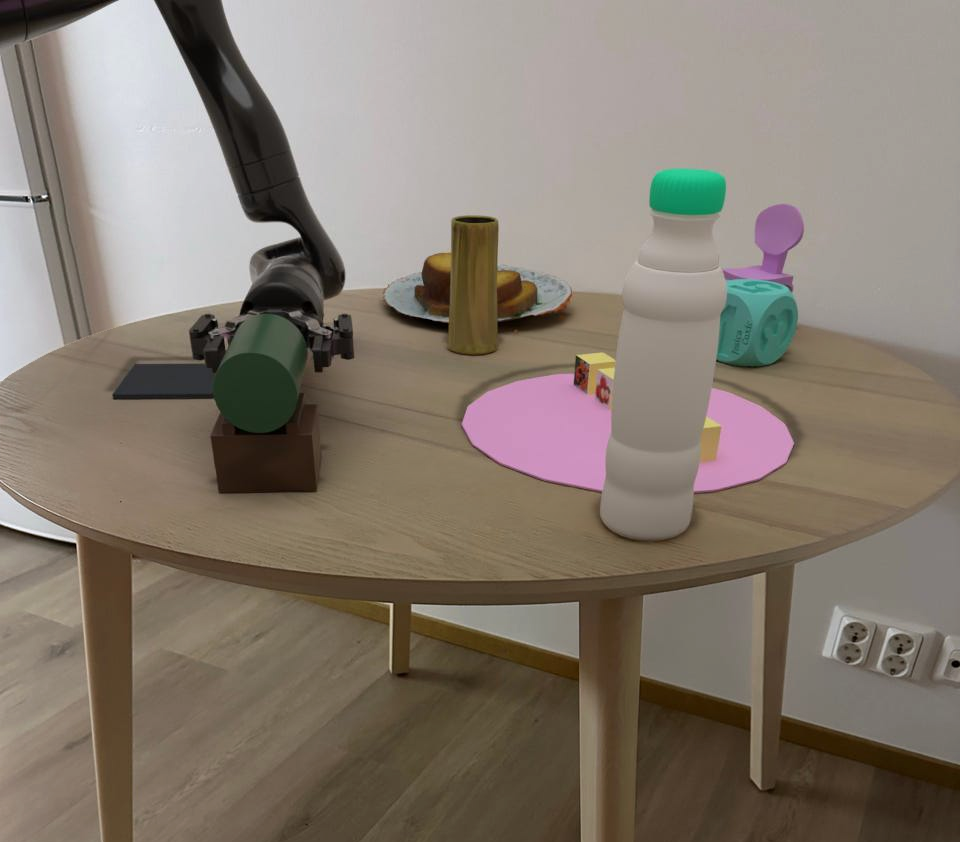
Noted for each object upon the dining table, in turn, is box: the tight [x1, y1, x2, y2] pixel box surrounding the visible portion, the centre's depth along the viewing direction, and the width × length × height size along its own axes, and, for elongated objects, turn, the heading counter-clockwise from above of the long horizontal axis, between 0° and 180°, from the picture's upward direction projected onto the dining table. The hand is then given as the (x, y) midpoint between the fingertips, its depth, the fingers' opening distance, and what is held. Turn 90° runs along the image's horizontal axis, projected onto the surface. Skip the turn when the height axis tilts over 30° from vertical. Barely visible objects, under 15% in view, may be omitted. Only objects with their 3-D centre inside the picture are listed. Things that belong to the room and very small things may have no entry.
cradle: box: [209, 392, 323, 494], centre depth 77 cm, size 8×7×6 cm
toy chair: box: [722, 203, 805, 294], centre depth 114 cm, size 8×9×15 cm
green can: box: [213, 314, 308, 433], centre depth 76 cm, size 6×11×6 cm, turn 5°
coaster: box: [111, 362, 216, 400], centre depth 98 cm, size 10×10×1 cm
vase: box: [446, 214, 500, 356], centre depth 107 cm, size 6×6×14 cm
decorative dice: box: [716, 279, 799, 368], centre depth 108 cm, size 8×8×8 cm
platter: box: [461, 351, 795, 494], centre depth 89 cm, size 32×32×3 cm
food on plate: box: [382, 252, 573, 333], centre depth 124 cm, size 25×25×7 cm
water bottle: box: [599, 167, 727, 542], centre depth 66 cm, size 7×7×25 cm
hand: (266, 361), depth 78 cm, fingers open, 8 cm apart
